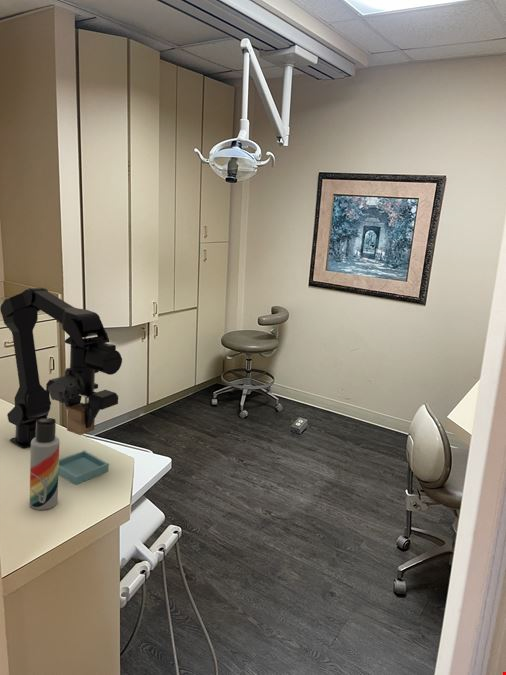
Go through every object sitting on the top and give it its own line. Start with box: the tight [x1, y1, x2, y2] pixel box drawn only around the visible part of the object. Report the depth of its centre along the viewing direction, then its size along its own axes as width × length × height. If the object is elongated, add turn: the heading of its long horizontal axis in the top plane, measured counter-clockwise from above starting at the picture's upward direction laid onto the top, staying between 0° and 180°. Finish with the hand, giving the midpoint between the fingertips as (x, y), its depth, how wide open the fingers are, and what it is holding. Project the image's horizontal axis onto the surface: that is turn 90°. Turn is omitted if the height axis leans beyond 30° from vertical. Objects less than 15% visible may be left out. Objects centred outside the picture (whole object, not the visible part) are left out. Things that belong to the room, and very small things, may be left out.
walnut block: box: [66, 402, 96, 436], centre depth 123 cm, size 4×4×6 cm
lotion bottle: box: [29, 417, 60, 511], centre depth 108 cm, size 6×6×20 cm
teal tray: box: [58, 450, 110, 486], centre depth 125 cm, size 10×10×2 cm
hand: (80, 425), depth 123 cm, fingers closed on walnut block, 4 cm apart
